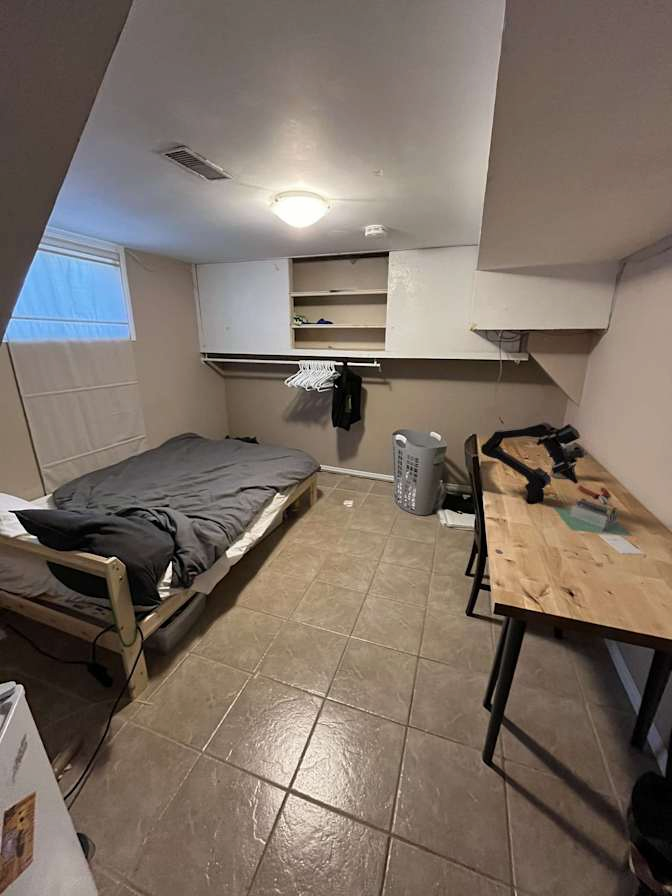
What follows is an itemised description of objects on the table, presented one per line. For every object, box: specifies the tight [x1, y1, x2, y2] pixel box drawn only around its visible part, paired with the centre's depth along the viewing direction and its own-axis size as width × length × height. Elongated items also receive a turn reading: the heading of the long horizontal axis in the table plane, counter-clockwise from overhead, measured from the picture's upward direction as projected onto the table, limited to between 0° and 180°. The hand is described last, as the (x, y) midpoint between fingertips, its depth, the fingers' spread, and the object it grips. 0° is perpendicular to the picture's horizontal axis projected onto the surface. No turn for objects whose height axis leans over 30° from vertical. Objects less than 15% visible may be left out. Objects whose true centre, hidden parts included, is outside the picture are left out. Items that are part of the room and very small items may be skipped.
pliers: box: [577, 484, 612, 506], centre depth 168 cm, size 12×20×3 cm, turn 164°
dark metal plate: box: [579, 499, 614, 513], centre depth 142 cm, size 11×3×1 cm, turn 32°
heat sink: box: [569, 497, 620, 531], centre depth 143 cm, size 12×12×8 cm
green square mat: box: [552, 507, 633, 537], centre depth 144 cm, size 20×20×1 cm
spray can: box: [549, 441, 575, 480], centre depth 193 cm, size 8×8×20 cm
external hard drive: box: [598, 534, 647, 558], centre depth 127 cm, size 2×8×12 cm
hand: (576, 482), depth 149 cm, fingers closed
